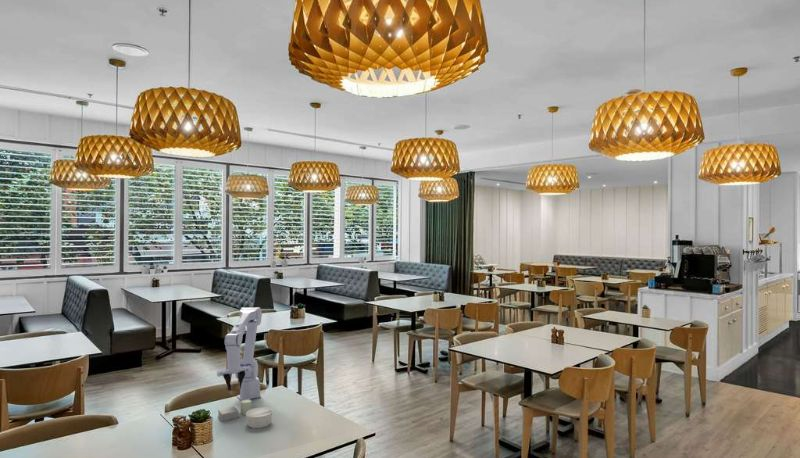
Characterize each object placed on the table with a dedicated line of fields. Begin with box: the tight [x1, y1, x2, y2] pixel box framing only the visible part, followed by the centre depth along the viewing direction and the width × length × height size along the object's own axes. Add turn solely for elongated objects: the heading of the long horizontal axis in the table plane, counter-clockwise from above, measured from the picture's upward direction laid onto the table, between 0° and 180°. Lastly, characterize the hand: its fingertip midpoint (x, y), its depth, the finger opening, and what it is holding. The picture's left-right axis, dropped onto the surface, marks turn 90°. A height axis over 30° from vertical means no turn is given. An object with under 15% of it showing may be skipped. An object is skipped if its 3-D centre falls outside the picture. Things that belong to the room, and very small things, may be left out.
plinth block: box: [217, 405, 240, 422], centre depth 218 cm, size 7×7×3 cm
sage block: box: [239, 399, 253, 416], centre depth 223 cm, size 4×4×5 cm
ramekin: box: [245, 406, 274, 429], centre depth 209 cm, size 11×11×5 cm
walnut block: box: [228, 380, 240, 396], centre depth 226 cm, size 4×4×5 cm
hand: (234, 389), depth 226 cm, fingers closed on walnut block, 4 cm apart
